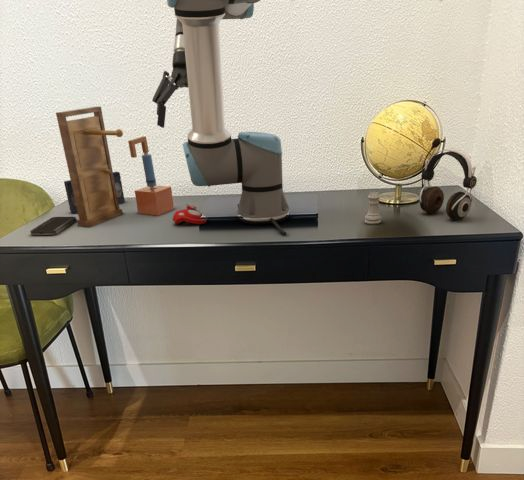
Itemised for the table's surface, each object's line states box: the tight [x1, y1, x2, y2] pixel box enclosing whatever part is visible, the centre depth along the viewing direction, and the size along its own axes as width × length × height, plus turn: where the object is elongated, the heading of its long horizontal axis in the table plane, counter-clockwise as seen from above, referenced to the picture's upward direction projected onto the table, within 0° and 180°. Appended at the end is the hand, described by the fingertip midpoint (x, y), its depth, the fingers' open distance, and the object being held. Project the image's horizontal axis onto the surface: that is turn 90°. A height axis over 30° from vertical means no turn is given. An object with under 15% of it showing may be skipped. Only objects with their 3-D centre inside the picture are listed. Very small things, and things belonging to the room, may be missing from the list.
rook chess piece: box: [364, 191, 382, 226], centre depth 145 cm, size 4×4×8 cm
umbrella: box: [127, 135, 157, 190], centre depth 161 cm, size 8×3×22 cm, turn 151°
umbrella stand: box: [134, 184, 175, 216], centre depth 167 cm, size 8×8×7 cm
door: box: [55, 106, 124, 228], centre depth 153 cm, size 15×16×31 cm
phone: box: [30, 216, 77, 236], centre depth 157 cm, size 8×1×15 cm
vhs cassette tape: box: [63, 171, 126, 214], centre depth 174 cm, size 18×3×10 cm, turn 128°
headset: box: [419, 137, 478, 221], centre depth 144 cm, size 17×8×20 cm, turn 34°
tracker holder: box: [172, 203, 208, 225], centre depth 156 cm, size 12×4×10 cm
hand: (178, 126), depth 168 cm, fingers open, 13 cm apart
